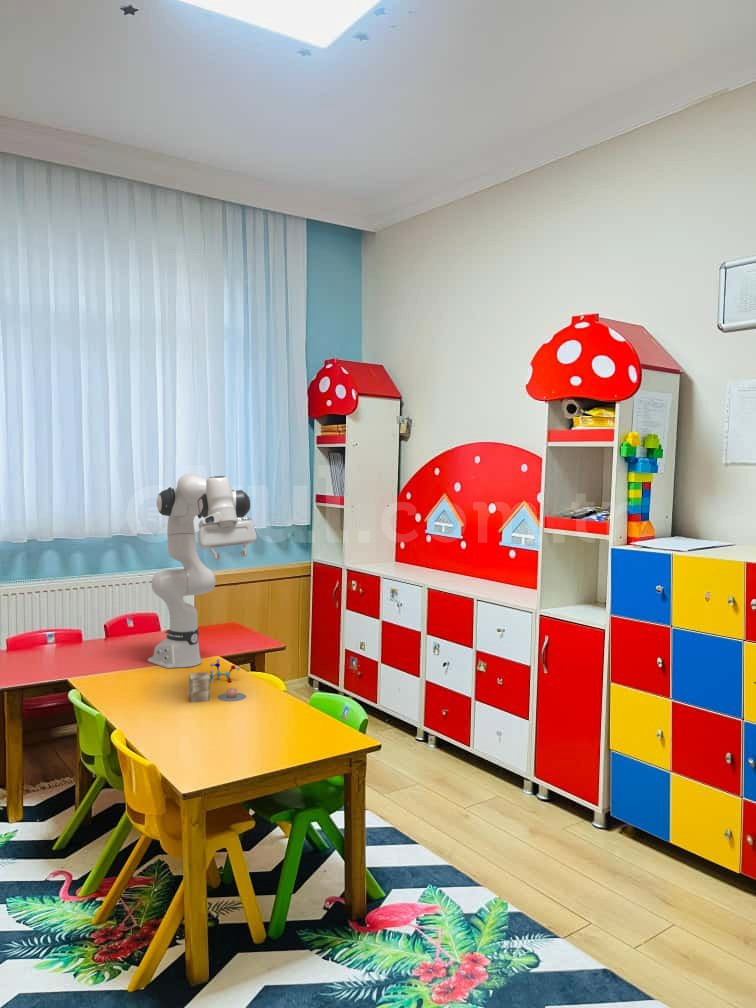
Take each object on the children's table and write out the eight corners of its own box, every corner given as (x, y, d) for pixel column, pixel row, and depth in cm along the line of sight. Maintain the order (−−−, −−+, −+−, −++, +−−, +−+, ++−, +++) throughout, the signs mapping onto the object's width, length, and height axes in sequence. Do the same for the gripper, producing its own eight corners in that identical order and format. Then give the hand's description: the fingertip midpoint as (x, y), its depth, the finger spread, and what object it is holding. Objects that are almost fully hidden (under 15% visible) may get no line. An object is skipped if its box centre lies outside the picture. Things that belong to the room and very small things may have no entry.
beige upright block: (191, 704, 271) (191, 678, 271) (188, 698, 277) (189, 673, 277) (209, 702, 274) (209, 677, 273) (207, 696, 280) (207, 672, 279)
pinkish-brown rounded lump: (224, 697, 278) (224, 690, 278) (231, 694, 281) (231, 687, 281) (232, 699, 276) (232, 692, 276) (239, 696, 279) (239, 689, 279)
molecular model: (211, 679, 289) (213, 653, 294) (200, 686, 295) (203, 660, 300) (239, 684, 294) (241, 658, 299) (228, 691, 301) (230, 666, 306)
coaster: (211, 699, 277) (211, 698, 277) (230, 692, 285) (230, 690, 285) (233, 704, 272) (233, 703, 272) (251, 697, 280) (251, 695, 280)
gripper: (250, 519, 281) (257, 556, 277) (193, 525, 272) (200, 563, 268) (255, 514, 275) (262, 551, 272) (197, 519, 266) (203, 558, 263)
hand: (230, 557), depth 270 cm, fingers open, 8 cm apart
